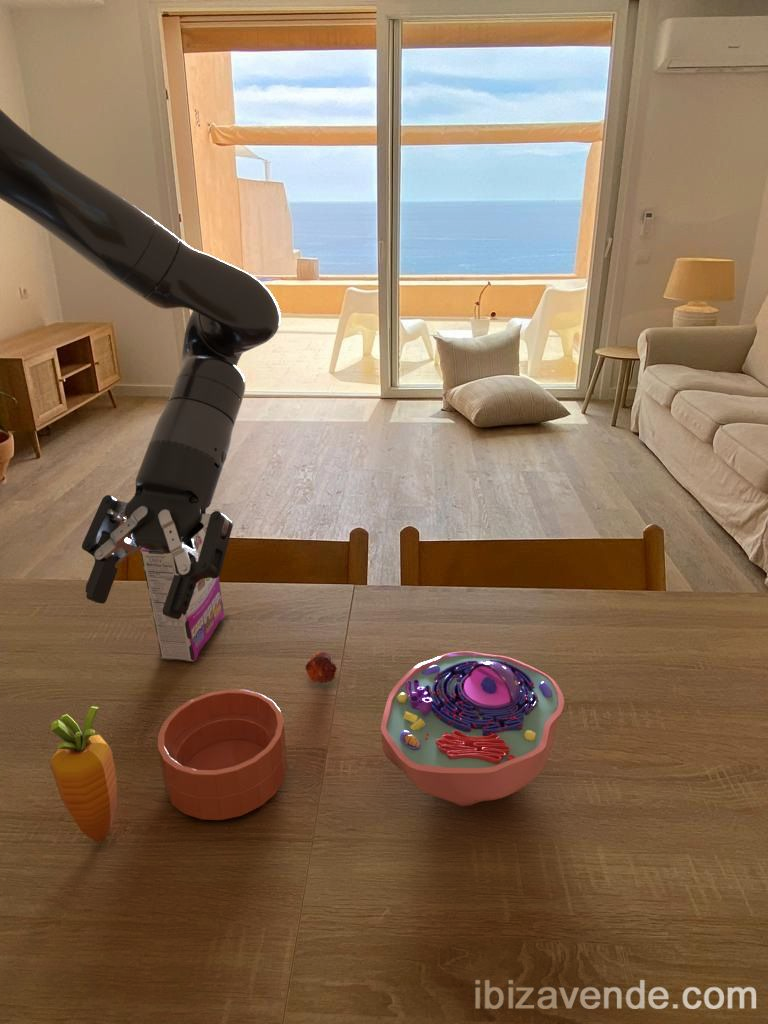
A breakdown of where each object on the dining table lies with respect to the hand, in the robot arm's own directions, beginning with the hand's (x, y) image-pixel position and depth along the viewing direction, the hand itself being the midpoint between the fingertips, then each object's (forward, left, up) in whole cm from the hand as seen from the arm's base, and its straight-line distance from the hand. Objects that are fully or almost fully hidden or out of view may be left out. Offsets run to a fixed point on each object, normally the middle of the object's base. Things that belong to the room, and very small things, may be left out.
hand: (132, 609), depth 65 cm
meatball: (+15, +15, -20) cm, 29 cm away
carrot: (-3, -9, -20) cm, 22 cm away
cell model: (+32, +1, -20) cm, 38 cm away
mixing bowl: (+7, -1, -20) cm, 21 cm away
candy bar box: (-4, +24, -20) cm, 31 cm away
